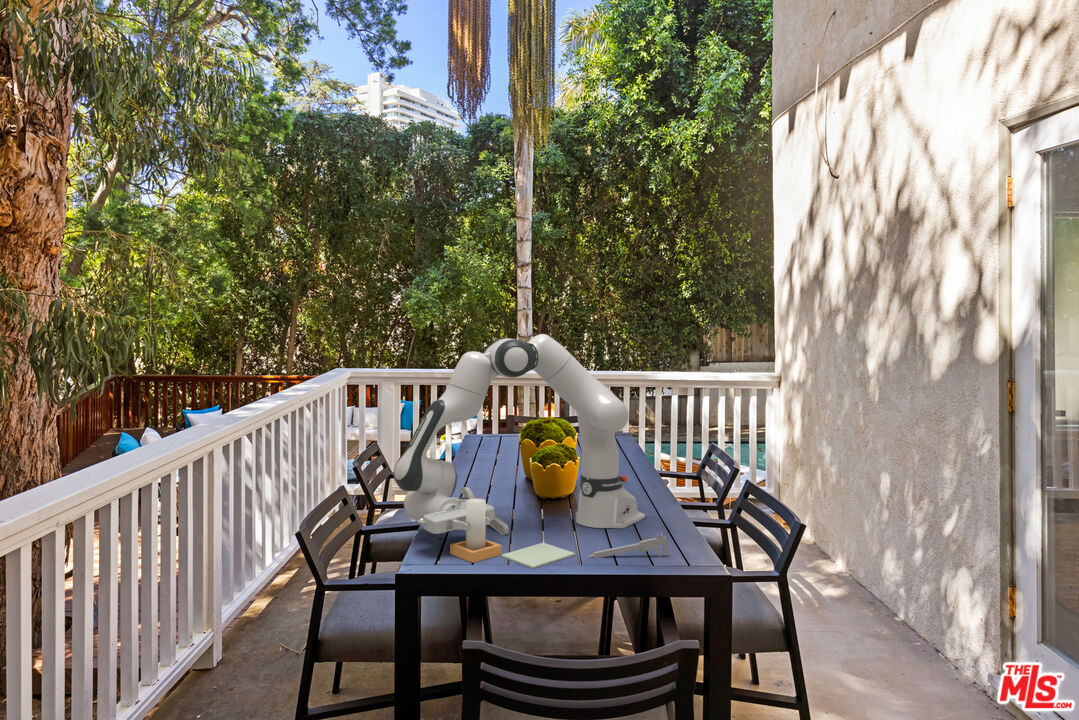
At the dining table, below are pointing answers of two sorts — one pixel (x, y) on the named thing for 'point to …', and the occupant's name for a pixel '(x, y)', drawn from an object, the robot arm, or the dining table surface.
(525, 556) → the mat
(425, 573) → the dining table surface
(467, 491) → the wrench
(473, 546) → the tall white pillar
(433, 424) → the robot arm
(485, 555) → the orange square frame
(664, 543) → the caliper
